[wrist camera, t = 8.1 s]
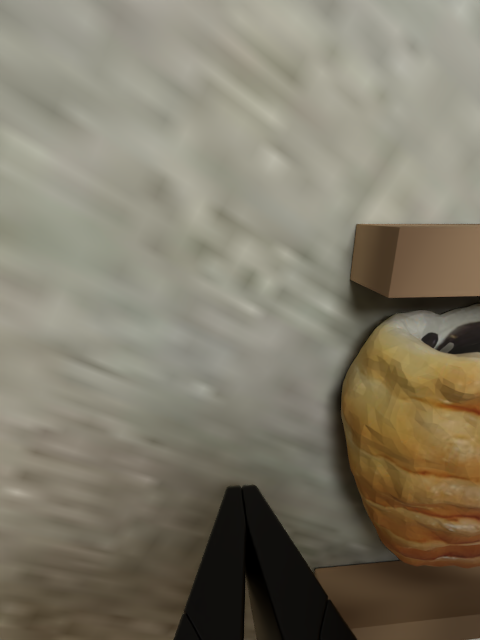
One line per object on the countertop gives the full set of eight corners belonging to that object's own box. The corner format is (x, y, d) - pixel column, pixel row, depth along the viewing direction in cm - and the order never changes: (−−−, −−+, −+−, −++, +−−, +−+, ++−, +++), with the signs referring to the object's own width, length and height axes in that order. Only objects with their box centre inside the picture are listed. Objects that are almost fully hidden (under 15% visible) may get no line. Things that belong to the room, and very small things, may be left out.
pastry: (490, 506, 13) (598, 622, 9) (329, 530, 13) (376, 659, 9) (540, 285, 10) (735, 329, 6) (328, 311, 9) (398, 372, 6)
